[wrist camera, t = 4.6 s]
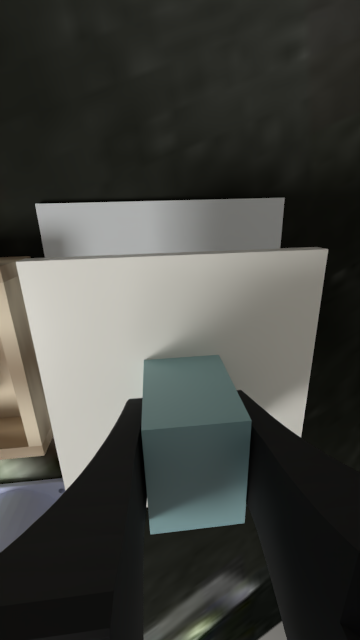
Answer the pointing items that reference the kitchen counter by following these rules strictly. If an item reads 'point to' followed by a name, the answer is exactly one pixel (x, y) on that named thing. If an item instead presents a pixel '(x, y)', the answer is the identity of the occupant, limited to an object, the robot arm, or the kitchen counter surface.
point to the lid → (175, 363)
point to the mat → (159, 226)
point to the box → (19, 375)
